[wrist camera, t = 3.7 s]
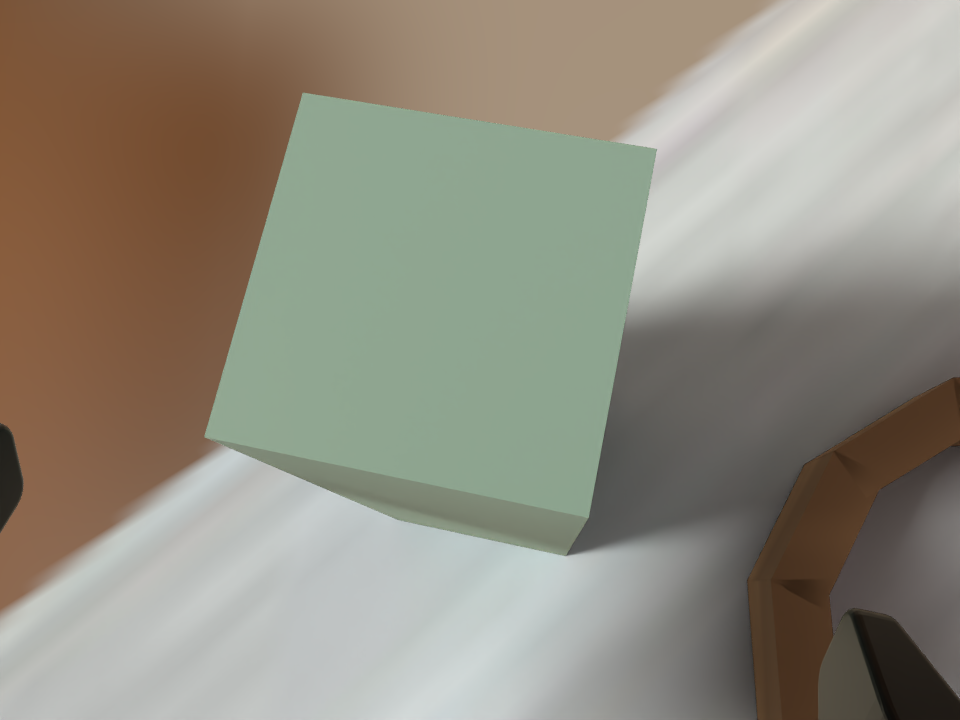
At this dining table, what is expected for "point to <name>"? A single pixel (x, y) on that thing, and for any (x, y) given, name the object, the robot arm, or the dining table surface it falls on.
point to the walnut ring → (830, 545)
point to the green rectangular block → (438, 318)
